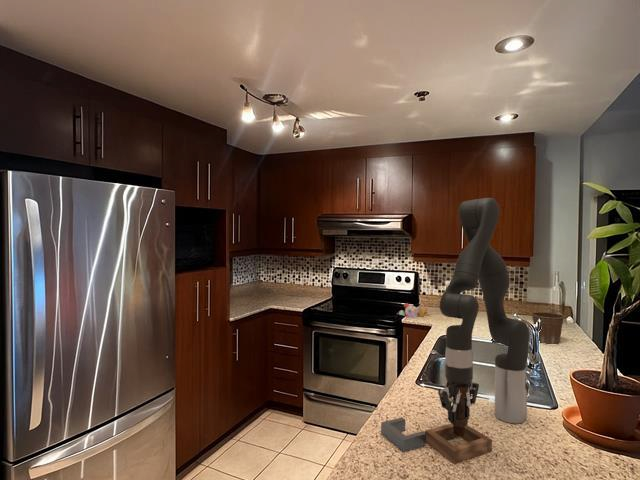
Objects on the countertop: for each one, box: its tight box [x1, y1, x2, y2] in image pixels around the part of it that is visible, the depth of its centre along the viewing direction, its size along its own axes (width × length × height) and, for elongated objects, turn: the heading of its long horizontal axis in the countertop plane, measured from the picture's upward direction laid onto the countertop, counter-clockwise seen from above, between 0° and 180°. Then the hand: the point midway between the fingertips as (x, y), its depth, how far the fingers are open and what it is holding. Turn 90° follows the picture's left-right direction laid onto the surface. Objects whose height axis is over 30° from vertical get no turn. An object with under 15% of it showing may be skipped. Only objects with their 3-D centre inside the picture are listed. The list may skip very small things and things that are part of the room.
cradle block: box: [380, 416, 427, 453], centre depth 117 cm, size 8×11×4 cm
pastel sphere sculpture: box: [396, 302, 431, 319], centre depth 288 cm, size 25×24×9 cm
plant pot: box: [531, 311, 566, 345], centre depth 220 cm, size 16×16×16 cm
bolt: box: [452, 385, 469, 439], centre depth 113 cm, size 6×5×15 cm
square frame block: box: [424, 422, 493, 465], centre depth 113 cm, size 14×12×4 cm
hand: (458, 420), depth 113 cm, fingers closed on bolt, 4 cm apart
